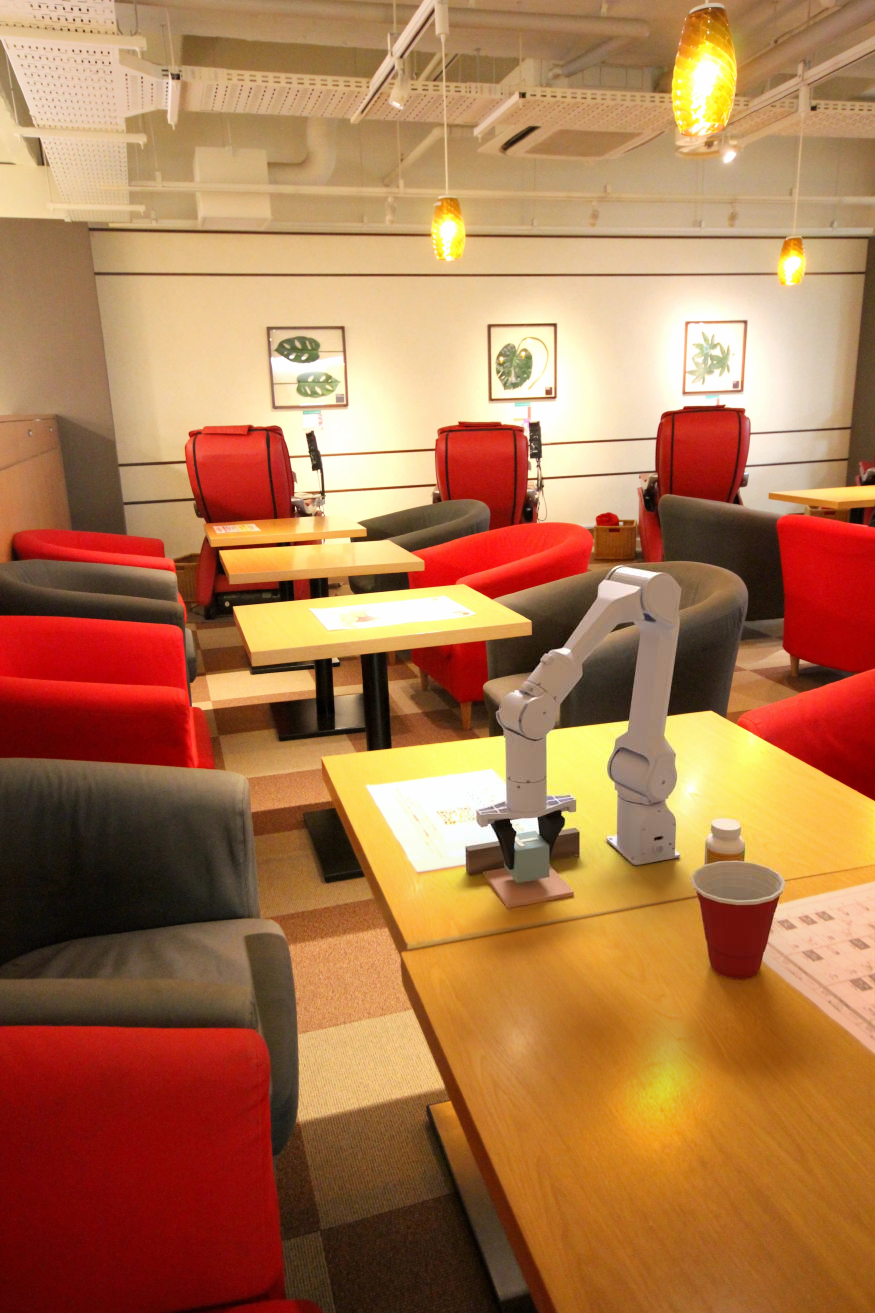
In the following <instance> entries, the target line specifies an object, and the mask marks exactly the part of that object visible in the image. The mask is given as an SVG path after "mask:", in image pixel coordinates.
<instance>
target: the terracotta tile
mask: <svg viewBox="0 0 875 1313" xmlns="http://www.w3.org/2000/svg"><path fill="white" fill-rule="evenodd" d="M483 877H484V878H485V879H486V880H487V882H488V883H489V885H490V886H491V887H492V889H493V890H494V892H495V893H496V894H497V896H498V897H499V899H501V901H502V902H503V904H504V906H505V907H506V908H507V909H510V908H516V907H521V906H525V905H526V906H527V905H531V904H532V905H533V904H536V903H541V902H547V901H552V900H557V899H562V898H568V897H573V896H575V895H574V894H575V893H574V892H575V891H574V890H573V889H572V888H571V886H569V884H567V883H566V881H565V880H564V879H563V878H562V877H561V876H560V875H559V873H557V871H556V870H555V869H554V868H553V867H552V866H551V865H550V864H549V877H547V878H541V879H536V880H531V881H525V882H520V883H516V881H515V880H514V879H513V878H512V876H511V875H510V874H509V872H508V871H507V870H506V869H505V868H501V869H495V870H490V871H484V873H483Z"/></svg>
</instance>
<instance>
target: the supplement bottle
mask: <svg viewBox="0 0 875 1313" xmlns="http://www.w3.org/2000/svg"><path fill="white" fill-rule="evenodd" d="M741 832H742V825H741V823H740V822H738V821H737V820H735V819H731V818H726V817H725V818H724V817H723V818H716V819H715V818H714V820H712V821H711V825H710V833H709V834H708V835H707V836H706V838H705V841H704V842H705V844H704V845H705V846H704V864H703V865H706V864H710V863H715V862H719V861H744V862H745V856H746V855H745V854H746V842H745V840H744V838H743V837H742V836H741Z"/></svg>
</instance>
